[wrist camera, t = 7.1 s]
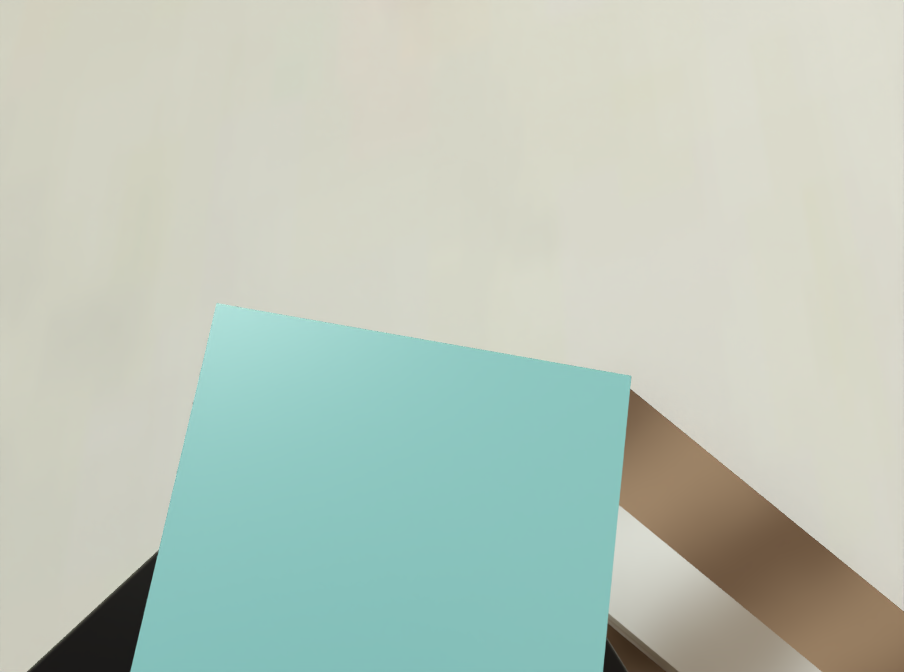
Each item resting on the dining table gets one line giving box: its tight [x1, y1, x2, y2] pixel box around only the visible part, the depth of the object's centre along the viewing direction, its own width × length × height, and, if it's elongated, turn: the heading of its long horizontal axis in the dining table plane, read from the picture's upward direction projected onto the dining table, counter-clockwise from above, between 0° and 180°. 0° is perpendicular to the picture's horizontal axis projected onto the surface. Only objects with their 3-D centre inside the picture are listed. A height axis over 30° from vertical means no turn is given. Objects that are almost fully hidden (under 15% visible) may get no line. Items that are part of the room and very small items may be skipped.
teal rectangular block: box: [130, 303, 631, 672], centre depth 11 cm, size 7×4×10 cm, turn 170°
